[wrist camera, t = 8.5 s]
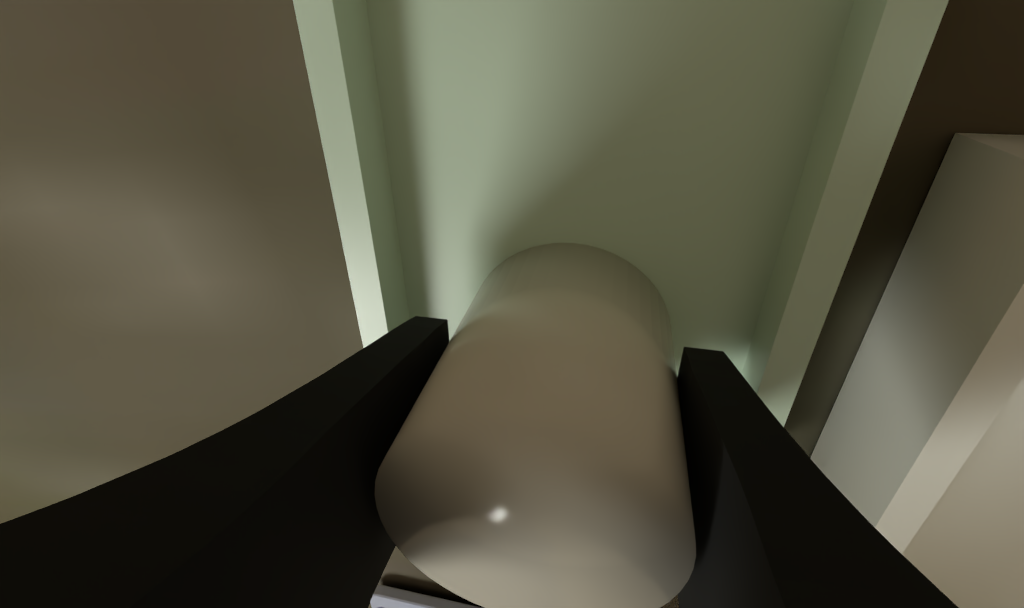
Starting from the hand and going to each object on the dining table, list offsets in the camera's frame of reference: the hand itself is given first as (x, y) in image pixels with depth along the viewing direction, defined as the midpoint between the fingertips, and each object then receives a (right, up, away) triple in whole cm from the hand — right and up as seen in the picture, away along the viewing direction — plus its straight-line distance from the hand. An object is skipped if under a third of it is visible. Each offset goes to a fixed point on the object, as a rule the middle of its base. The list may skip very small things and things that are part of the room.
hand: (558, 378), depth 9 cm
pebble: (0, +1, +1) cm, 1 cm away
